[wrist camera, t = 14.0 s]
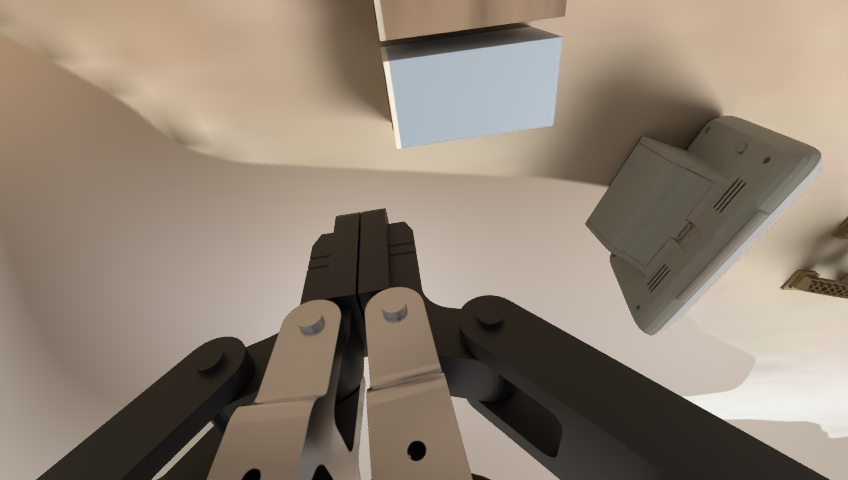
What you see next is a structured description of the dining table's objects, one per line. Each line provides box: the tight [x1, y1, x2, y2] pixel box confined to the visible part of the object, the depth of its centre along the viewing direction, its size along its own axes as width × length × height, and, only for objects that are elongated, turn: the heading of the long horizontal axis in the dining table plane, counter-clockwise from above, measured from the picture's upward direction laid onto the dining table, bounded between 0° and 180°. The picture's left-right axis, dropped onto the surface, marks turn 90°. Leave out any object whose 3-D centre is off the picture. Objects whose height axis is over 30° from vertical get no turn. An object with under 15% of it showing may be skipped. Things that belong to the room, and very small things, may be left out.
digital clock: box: [585, 116, 822, 335], centre depth 29 cm, size 16×9×11 cm, turn 151°
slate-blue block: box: [381, 26, 562, 149], centre depth 24 cm, size 5×5×10 cm
